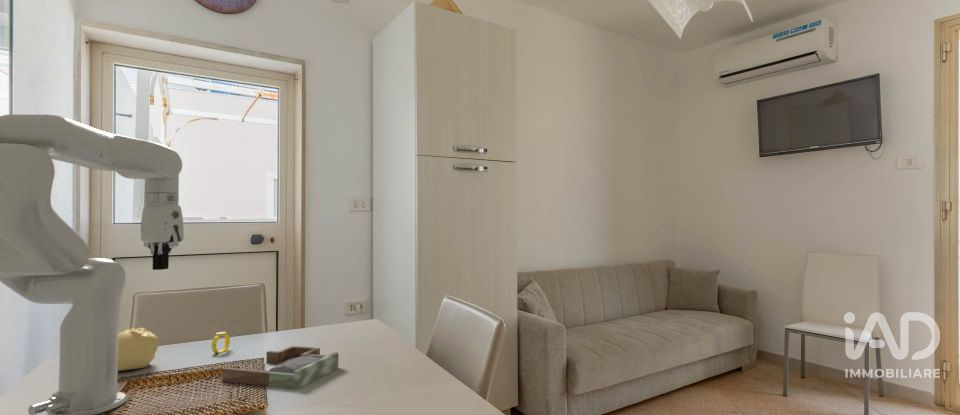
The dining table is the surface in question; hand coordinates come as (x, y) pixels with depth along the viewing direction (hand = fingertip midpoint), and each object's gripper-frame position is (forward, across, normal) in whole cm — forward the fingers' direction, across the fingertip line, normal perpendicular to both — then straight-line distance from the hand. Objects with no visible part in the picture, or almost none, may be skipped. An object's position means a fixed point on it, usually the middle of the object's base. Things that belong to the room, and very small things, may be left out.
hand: (160, 269), depth 121 cm
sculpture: (+27, +11, -1) cm, 30 cm away
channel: (+27, -33, -10) cm, 44 cm away
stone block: (+28, -36, -8) cm, 46 cm away
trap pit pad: (+27, -29, -18) cm, 44 cm away
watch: (+27, 0, -20) cm, 34 cm away
